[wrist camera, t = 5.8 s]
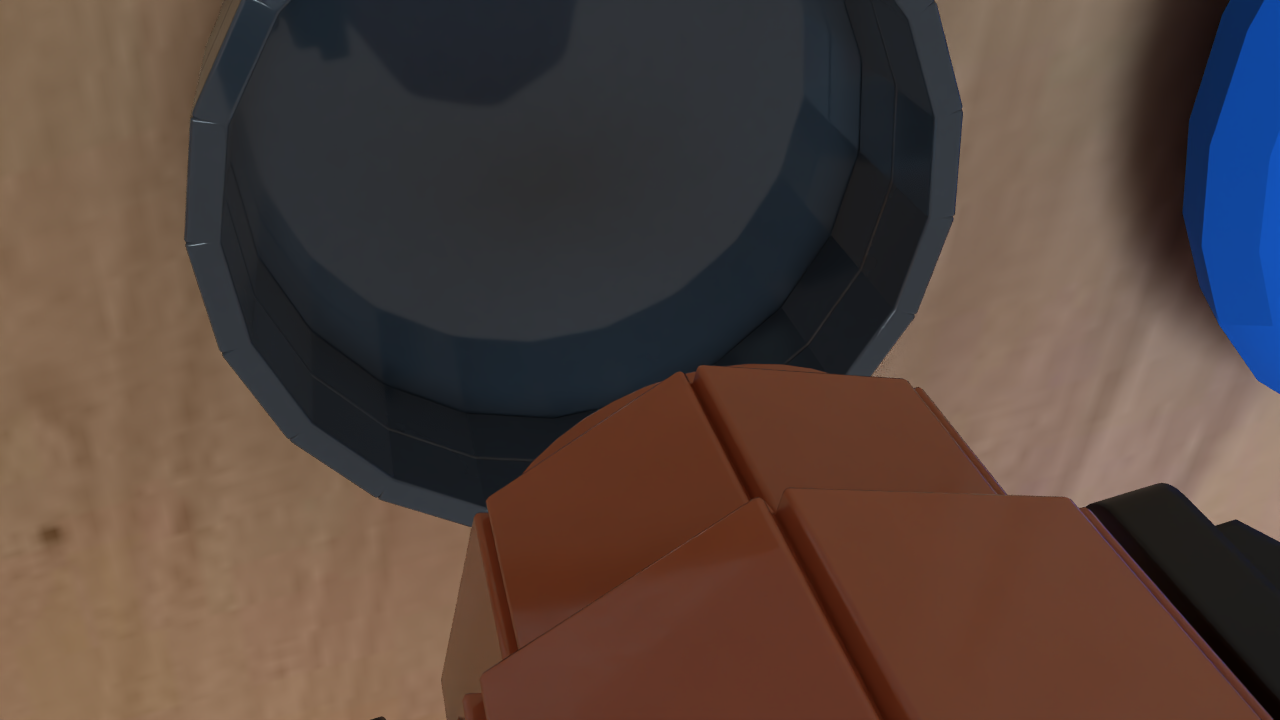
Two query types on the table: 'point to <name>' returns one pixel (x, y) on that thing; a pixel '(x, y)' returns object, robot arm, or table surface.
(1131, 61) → the table surface
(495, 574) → the terracotta bowl
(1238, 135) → the blue dish
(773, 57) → the slate bowl
